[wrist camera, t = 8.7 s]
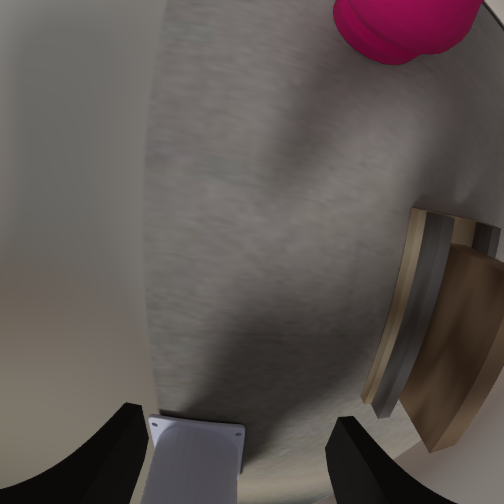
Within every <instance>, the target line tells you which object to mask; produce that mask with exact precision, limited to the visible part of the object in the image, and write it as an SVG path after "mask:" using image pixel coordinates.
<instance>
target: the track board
mask: <svg viewBox="0 0 504 504" xmlns="http://www.w3.org/2000/svg"><path fill="white" fill-rule="evenodd" d="M500 231H501V228H498V227H495V226H492V225H489V224H487V223H484V222H480V221H476V220H472V219H467V218H463V217H458V216H453V215H448V214H443V213H438V212H433V211H428V210H423V209H417V208H412V207H411V213H410V220H409V226H408V232H407V237H406V243H405V248H404V253H403V258H402V262H401V267H400V271H399V276H398V280H397V284H396V288H395V292H394V296H393V300H392V304H391V307H390V311H389V315H388V318H387V322H386V325H385V328H384V332H383V335H382V338H381V341H380V344H379V347H378V350H377V353H376V356H375V359H374V362H373V365H372V368H371V370H370V373H369V376H368V379H367V381H366V384H365V386H364V389H363V392H362V394H361V398H362V400H363V403H364V404H371V405H372V407H373V409H374V411H375V413H376V415H377V418H378V419H380V418H387V417H390V415H391V413H392V411H393V409H394V407H395V405H396V403H397V401H398V400H399V396H400V394H401V392H402V390H403V388H404V386H405V384H406V381H407V379H408V377H409V374H410V372H411V370H412V367H413V365H414V363H415V360H416V358H417V355H418V353H419V350H420V347H421V345H422V342H423V339H424V337H425V334H426V331H427V328H428V325H429V322H430V319H431V316H432V313H433V310H434V307H435V303H436V300H437V297H438V293H439V290H440V286H441V282H442V279H443V275H444V271H445V267H446V262H447V258H448V254H449V249H450V244H451V243H453V244H460V245H466V246H468V247H471V248H473V249H475V250H477V251H479V252H482V253H484V254H486V255H488V256H490V257H492V258H495V255H496V251H497V246H498V242H499V237H500Z"/></svg>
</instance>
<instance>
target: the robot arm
mask: <svg viewBox="0 0 504 504" xmlns="http://www.w3.org/2000/svg"><path fill="white" fill-rule="evenodd" d="M148 420H149V425H150V429H151V433H152V438H153V442H154V446H155V451H154V455H153V458H152V462H151V465H150V469H149V473H148V476H147V480H146V484H145V488H144V491H143V495H142V499H141V503H140V504H237V480H238V479H239V476H240V469H241V461H242V453H243V445H244V438H245V426H243V425H240V424H226V423H214V422H204V421H196V420H188V419H180V418H173V417H167V416H161V415H155V414H151V415H150V416H149V418H148ZM148 440H149V437H148V433H147V429H146V424H145V419H144V415H143V411H142V406H141V405H137V404H132V403H127V402H126V403H124V404H123V405H122V407H121V408H120V409H119V410H118V411H117V412H116V413H115V414H114V415H113V416H112V417H111V418H110V419H109V420H108V421H107V422H106V423H105V424H104V425H103V426H102V427H101V428H100V429H99V430H98V431H97V432H96V433H95V434H94V435H93V436H92V437H91V438H90V439H89V440H88V441H87V442H85V443H84V444H83V445H82V446H81V447H79V448H78V449H77V450H76V451H75V452H73V453H72V454H71V455H69V456H68V457H67V458H65V459H64V460H62V461H61V462H60V463H58V464H56V465H55V466H53V467H52V468H50V469H48V470H46V471H45V472H43V473H41V474H39V475H37V476H35V477H33V478H31V479H28V480H26V481H23V482H21V483H18V484H16V485H13V486H10V487H7V488H3V489H0V504H129V503H130V500H131V497H132V494H133V491H134V488H135V486H136V483H137V480H138V477H139V474H140V471H141V468H142V465H143V462H144V459H145V454H146V450H147V444H148ZM325 451H326V460H327V467H328V472H329V476H330V480H331V484H332V487H333V491H334V494H335V498H336V501H337V504H457V503H454V502H452V501H450V500H448V499H446V498H444V497H442V496H440V495H439V494H437V493H435V492H433V491H432V490H430V489H428V488H427V487H425V486H424V485H422V484H421V483H419V482H418V481H417V480H415V479H414V478H413V477H411V476H410V475H409V474H408V473H407V472H405V471H404V470H403V469H402V468H401V467H400V466H399V465H397V463H395V462H394V461H393V460H392V459H391V458H390V457H389V456H388V455H387V453H386V452H385V451H384V450H383V449H382V448H381V447H380V446H379V445H378V444H377V443H376V442H375V441H374V439H373V438H372V437H371V436H370V435H369V434H368V433H367V431H366V430H365V429H364V428H363V427H362V426H361V424H360V423H359V422H358V421H357V420H356V418H355V417H354V416H347V417H338V419H337V422H336V424H335V426H334V429H333V431H332V434H331V436H330V438H329V441H328V443H327V445H326V447H325Z"/></svg>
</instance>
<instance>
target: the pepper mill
mask: <svg viewBox="0 0 504 504" xmlns="http://www.w3.org/2000/svg"><path fill="white" fill-rule="evenodd" d="M483 1H484V0H336V1H335V4H334V8H333V16H334V21H335V23H336V26H337V28H338V30H339V32H340V33H341V35H342V36H343V37H344V39H345V40H346V41H347V42H348V43H349V44H350V45H351V46H352V47H353V48H354V49H355V50H356V51H358V52H360V53H361V54H363V55H364V56H366V57H368V58H370V59H372V60H375V61H377V62H380V63H384V64H389V65H399V64H404V63H406V62H409V61H410V60H412V59H414V58H416V57H417V56H419V55H421V54H429V55H431V54H439V53H442V52H445V51H447V50H449V49H450V48H452V47H453V46H454V45H456V44H457V43H459V42H460V41H461V40H462V39H463V38H464V37H465V35H466V34H467V33H468V32H469V30H470V29H471V27H472V24H473V22H474V20H475V17H476V15H477V12H478V10H479V7H480V5H481V3H482V2H483Z"/></svg>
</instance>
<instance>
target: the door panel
mask: <svg viewBox="0 0 504 504" xmlns="http://www.w3.org/2000/svg"><path fill="white" fill-rule="evenodd" d="M503 366H504V263H503V262H501V261H499V260H497V259H495V258H492V257H490V256H488V255H486V254H484V253H482V252H479V251H477V250H475V249H473V248H471V247H468V246H466V245H460V244H453V243H451V244H450V249H449V254H448V258H447V262H446V267H445V271H444V275H443V279H442V282H441V286H440V290H439V293H438V297H437V300H436V303H435V307H434V310H433V313H432V316H431V319H430V322H429V325H428V328H427V331H426V334H425V337H424V339H423V342H422V345H421V347H420V350H419V353H418V355H417V358H416V360H415V363H414V365H413V367H412V370H411V372H410V374H409V377H408V379H407V381H406V384H405V386H404V388H403V390H402V392H401V394H400V396H399V400H400V402H401V404H402V405H403V407H404V409H405V410H406V412H407V414H408V416H409V417H410V419H411V421H412V423H413V424H414V426H415V428H416V430H417V432H418V433H419V435H420V437H421V439H422V441H423V442H424V444H425V446H426V448H427V450H428V452H429V453H432V452H435V451H438V450H442V449H444V448H447V447H450V446H453V445H455V444H456V443H457V442H458V440H459V439H460V437H461V436H462V435H463V433H464V432H465V430H466V429H467V427H468V426H469V425H470V423H471V422H472V420H473V418H474V417H475V415H476V414H477V412H478V411H479V409H480V407H481V406H482V404H483V403H484V401H485V399H486V397H487V396H488V394H489V392H490V390H491V389H492V387H493V385H494V383H495V381H496V380H497V378H498V375H499V374H500V372H501V370H502V368H503Z"/></svg>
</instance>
